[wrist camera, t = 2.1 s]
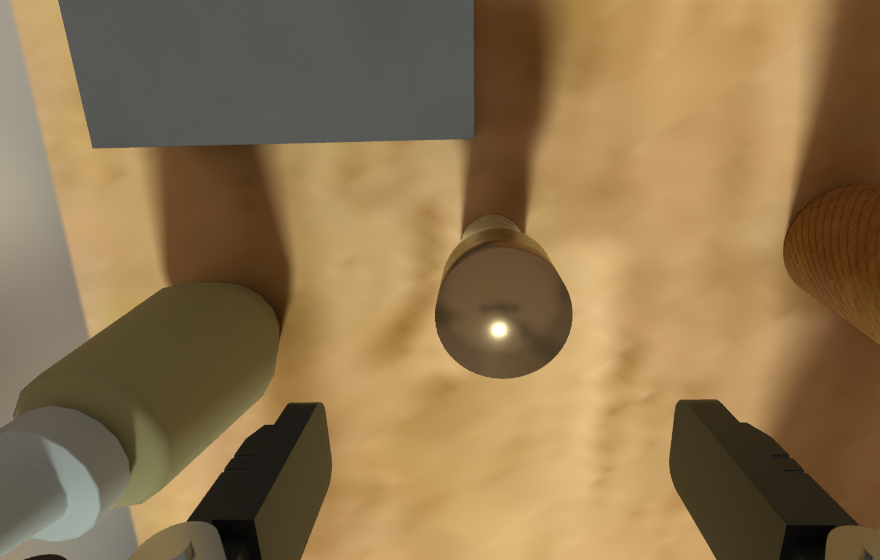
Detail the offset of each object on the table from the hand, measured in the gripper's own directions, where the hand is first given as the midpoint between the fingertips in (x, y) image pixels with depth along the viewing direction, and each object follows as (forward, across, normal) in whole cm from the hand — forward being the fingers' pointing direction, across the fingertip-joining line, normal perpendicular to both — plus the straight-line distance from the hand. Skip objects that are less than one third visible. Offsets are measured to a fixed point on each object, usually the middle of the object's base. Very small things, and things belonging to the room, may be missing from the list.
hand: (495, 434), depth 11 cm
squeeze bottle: (+18, +15, +4) cm, 24 cm away
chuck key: (+17, -1, 0) cm, 17 cm away
